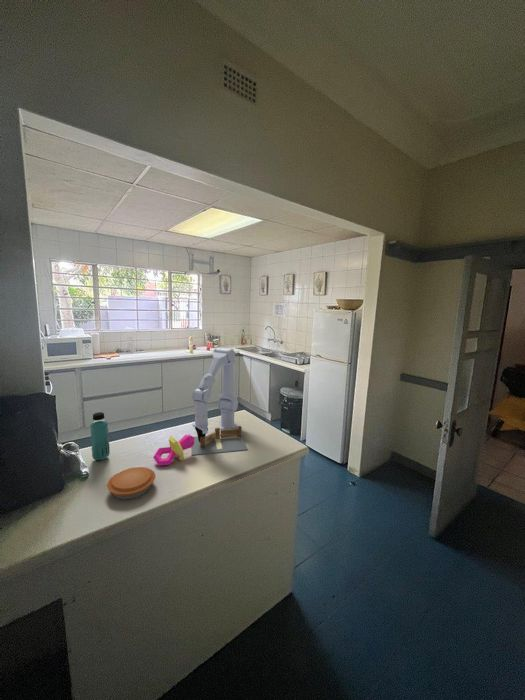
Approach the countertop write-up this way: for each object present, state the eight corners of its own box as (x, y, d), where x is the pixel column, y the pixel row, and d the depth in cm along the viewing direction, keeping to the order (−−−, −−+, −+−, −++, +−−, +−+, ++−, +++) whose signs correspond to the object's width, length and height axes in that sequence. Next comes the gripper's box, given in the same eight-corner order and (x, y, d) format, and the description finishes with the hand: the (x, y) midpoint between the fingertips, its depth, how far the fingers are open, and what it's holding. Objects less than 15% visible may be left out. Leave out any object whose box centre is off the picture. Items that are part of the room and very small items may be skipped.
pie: (163, 490, 98) (162, 477, 98) (115, 511, 88) (114, 496, 87) (146, 471, 110) (145, 459, 109) (101, 487, 99) (101, 474, 98)
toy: (151, 459, 119) (148, 445, 113) (189, 436, 130) (187, 422, 123) (163, 477, 114) (160, 463, 107) (201, 451, 124) (200, 438, 118)
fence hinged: (213, 438, 137) (213, 429, 136) (216, 439, 136) (216, 430, 135) (199, 447, 128) (199, 437, 127) (202, 448, 127) (202, 438, 126)
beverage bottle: (102, 464, 113) (99, 417, 110) (88, 462, 114) (85, 415, 111) (113, 456, 119) (111, 411, 116) (100, 454, 120) (97, 409, 117)
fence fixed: (214, 438, 139) (214, 427, 138) (240, 435, 142) (241, 425, 141) (215, 440, 136) (215, 429, 135) (241, 437, 140) (241, 427, 139)
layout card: (191, 437, 138) (191, 436, 138) (240, 433, 144) (240, 432, 144) (191, 455, 122) (191, 454, 122) (247, 449, 128) (247, 448, 128)
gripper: (189, 409, 133) (189, 436, 135) (196, 421, 120) (196, 450, 123) (204, 408, 136) (204, 434, 138) (212, 419, 123) (211, 447, 126)
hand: (201, 441), depth 131 cm, fingers closed
